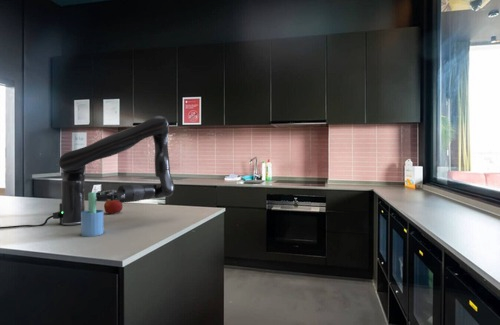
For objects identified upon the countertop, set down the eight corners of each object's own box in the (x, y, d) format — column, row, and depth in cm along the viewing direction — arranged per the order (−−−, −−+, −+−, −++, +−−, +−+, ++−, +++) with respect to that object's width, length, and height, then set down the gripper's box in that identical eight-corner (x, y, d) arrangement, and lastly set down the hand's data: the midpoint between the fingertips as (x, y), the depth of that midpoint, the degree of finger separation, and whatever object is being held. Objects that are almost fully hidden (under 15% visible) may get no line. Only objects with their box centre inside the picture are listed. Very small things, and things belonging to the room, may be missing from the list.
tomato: (102, 213, 168) (102, 198, 168) (120, 211, 174) (119, 196, 174) (106, 215, 161) (106, 200, 161) (124, 213, 167) (124, 198, 166)
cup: (76, 236, 122) (76, 213, 121) (89, 231, 130) (89, 209, 129) (95, 236, 121) (95, 213, 120) (107, 231, 129) (107, 210, 128)
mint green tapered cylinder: (87, 233, 124) (86, 193, 123) (91, 231, 127) (91, 192, 126) (93, 233, 124) (93, 193, 123) (97, 231, 126) (97, 192, 126)
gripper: (123, 183, 141) (85, 186, 129) (139, 185, 132) (99, 189, 120) (123, 200, 142) (85, 204, 130) (139, 203, 132) (99, 208, 120)
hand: (92, 196), depth 125 cm, fingers open, 8 cm apart
